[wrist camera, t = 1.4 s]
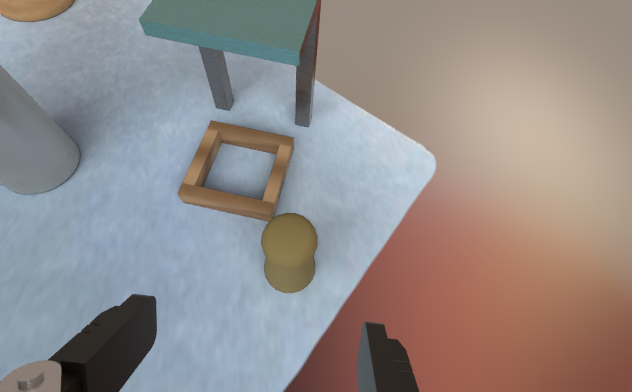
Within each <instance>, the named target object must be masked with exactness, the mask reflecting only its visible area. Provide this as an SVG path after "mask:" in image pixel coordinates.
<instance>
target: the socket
mask: <svg viewBox="0 0 632 392" xmlns="http://www.w3.org/2000/svg"><path fill="white" fill-rule="evenodd" d="M221 143H226V144H231V145H235V146H240V147H245V148H250V149H254V150H259V151H264V152H268V153H273V154H277V155H276V159H275V162H274V165H273V168H272V171H271V174H270V177H269V181H268V184H267V187H266V190H265V193H264V196H263V199H262V200H258V199H254V198H249V197H245V196H240V195H236V194H231V193H226V192H222V191H217V190H213V189H208V188H203V185H204V183H205V180H206V178H207V176H208V173H209V171H210V168H211V166H212V164H213V161H214V159H215V157H216V154H217V152H218V149H219V147H220V145H221ZM293 149H294V138H292V137H287V136H282V135H278V134H273V133H268V132H263V131H259V130H254V129H249V128H244V127H240V126H235V125H230V124H226V123H221V122H216V121H211V122H210V124H209V126H208V128H207V130H206V132H205V135H204V137H203V139H202V141H201V143H200V146H199V148H198V150H197V152H196V154H195V156H194V159H193V161H192V163H191V165H190V167H189V170H188V172H187V174H186V176H185V178H184V180H183V183H182V185H181V187H180V189H179V191H178V195H179V197H180V198H181V200H182V201H183V203H187V204H192V205H196V206H201V207H205V208H210V209H215V210H219V211H224V212H228V213H233V214H237V215H242V216H246V217H251V218H255V219H260V220H265V221H269V222H270V221H271V220H272V219H273V217H274V214H275V210H276V207H277V204H278V200H279V197H280V193H281V190H282V186H283V183H284V180H285V176H286V173H287V169H288V166H289V163H290V159H291V156H292V152H293Z"/></svg>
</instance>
